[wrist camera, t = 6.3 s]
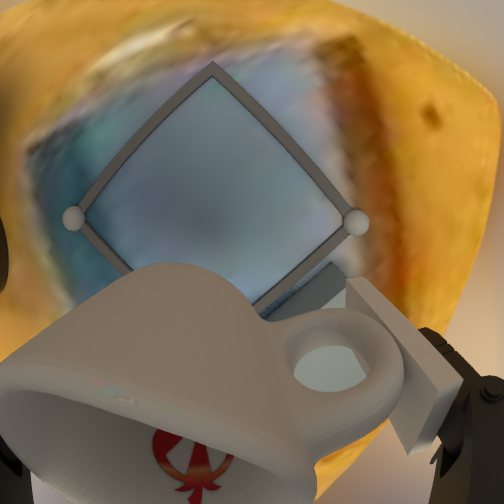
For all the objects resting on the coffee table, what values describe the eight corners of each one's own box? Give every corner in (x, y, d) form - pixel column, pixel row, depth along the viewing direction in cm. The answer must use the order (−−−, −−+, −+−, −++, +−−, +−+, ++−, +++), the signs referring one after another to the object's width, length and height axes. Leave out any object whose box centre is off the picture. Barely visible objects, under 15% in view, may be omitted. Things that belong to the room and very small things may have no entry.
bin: (207, 363, 28) (202, 396, 23) (331, 261, 25) (351, 282, 21) (300, 426, 32) (307, 454, 27) (403, 352, 29) (422, 376, 24)
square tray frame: (67, 216, 24) (54, 221, 21) (214, 55, 20) (212, 45, 18) (211, 354, 29) (209, 368, 26) (367, 221, 25) (378, 226, 23)
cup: (318, 186, 10) (490, 235, 2) (352, 354, 12) (423, 492, 5) (73, 269, 11) (-54, 371, 3) (149, 402, 13) (111, 528, 5)
